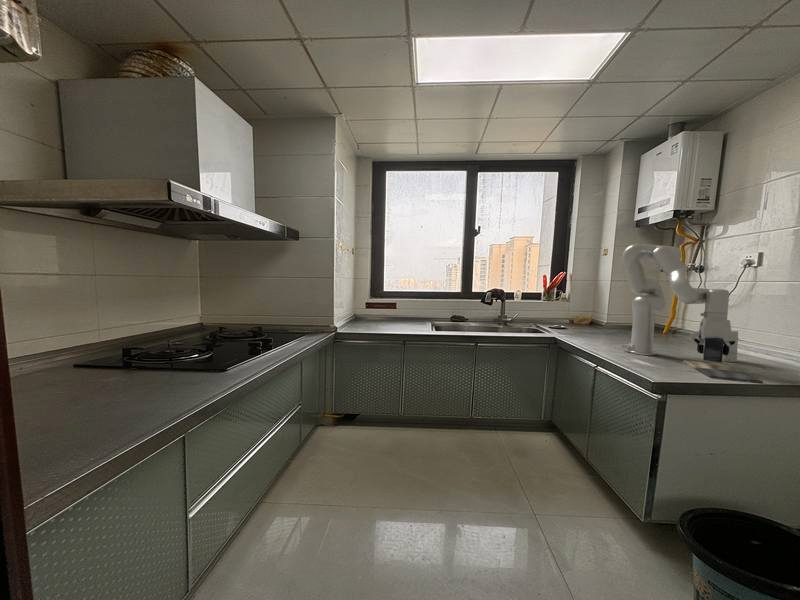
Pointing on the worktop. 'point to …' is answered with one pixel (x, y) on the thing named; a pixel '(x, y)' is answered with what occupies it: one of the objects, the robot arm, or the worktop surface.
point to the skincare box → (732, 350)
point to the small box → (713, 349)
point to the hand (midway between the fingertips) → (712, 353)
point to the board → (721, 371)
